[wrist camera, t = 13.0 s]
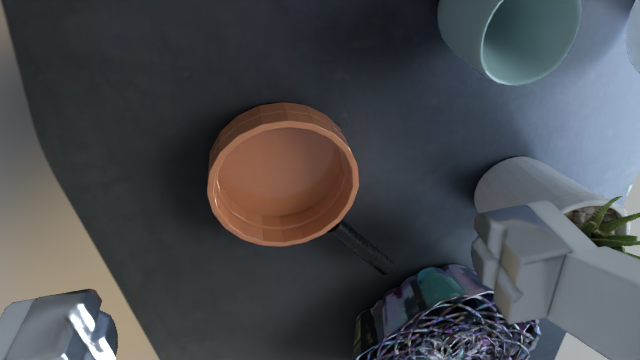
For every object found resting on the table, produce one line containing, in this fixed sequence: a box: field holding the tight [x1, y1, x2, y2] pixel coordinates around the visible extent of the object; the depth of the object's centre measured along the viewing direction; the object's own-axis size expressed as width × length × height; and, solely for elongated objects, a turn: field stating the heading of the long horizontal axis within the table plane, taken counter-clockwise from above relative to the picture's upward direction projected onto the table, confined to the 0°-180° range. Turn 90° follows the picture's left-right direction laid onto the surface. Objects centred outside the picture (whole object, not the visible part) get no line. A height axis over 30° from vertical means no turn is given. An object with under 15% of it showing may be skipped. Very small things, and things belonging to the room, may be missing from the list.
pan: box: [207, 102, 359, 246], centre depth 43 cm, size 14×14×4 cm
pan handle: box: [328, 219, 394, 275], centre depth 49 cm, size 10×2×2 cm, turn 41°
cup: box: [437, 0, 582, 86], centre depth 35 cm, size 8×8×10 cm
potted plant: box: [474, 157, 640, 259], centre depth 44 cm, size 13×14×20 cm
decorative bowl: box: [352, 264, 541, 360], centre depth 60 cm, size 26×28×10 cm
